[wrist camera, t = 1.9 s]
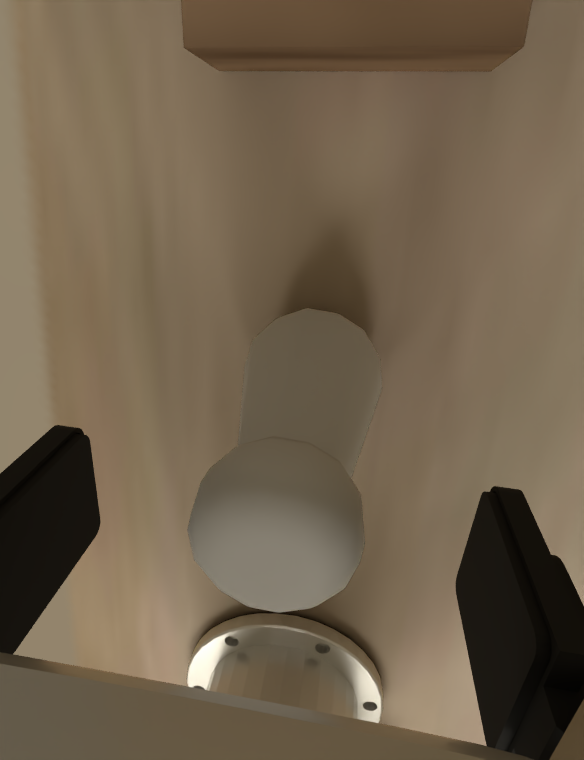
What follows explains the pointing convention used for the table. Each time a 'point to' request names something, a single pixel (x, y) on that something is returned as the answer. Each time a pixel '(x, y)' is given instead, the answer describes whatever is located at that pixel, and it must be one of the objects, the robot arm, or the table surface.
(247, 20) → the block
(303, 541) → the salt shaker
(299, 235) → the table surface
